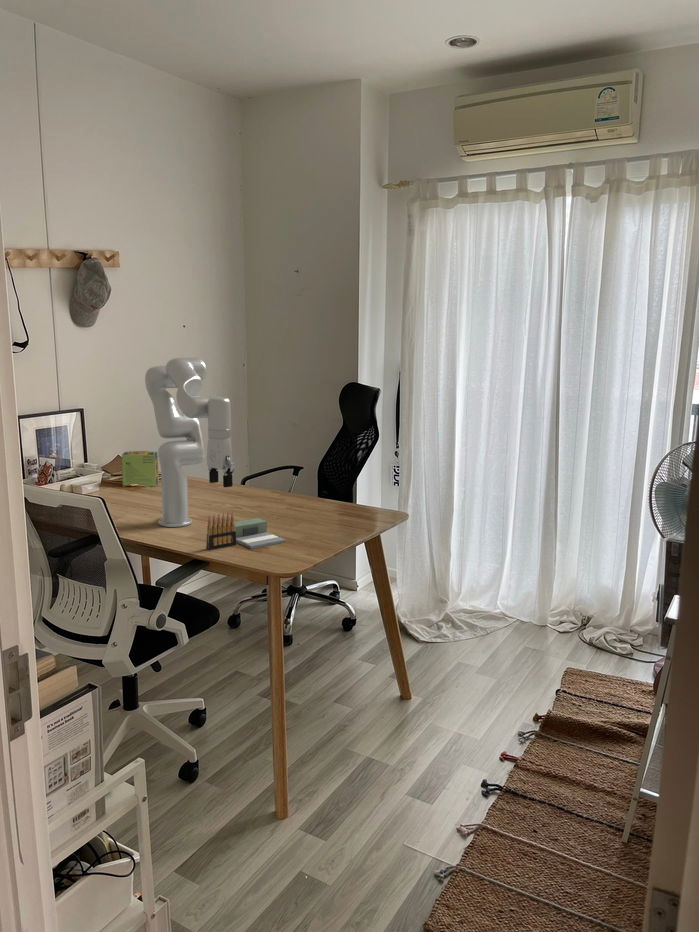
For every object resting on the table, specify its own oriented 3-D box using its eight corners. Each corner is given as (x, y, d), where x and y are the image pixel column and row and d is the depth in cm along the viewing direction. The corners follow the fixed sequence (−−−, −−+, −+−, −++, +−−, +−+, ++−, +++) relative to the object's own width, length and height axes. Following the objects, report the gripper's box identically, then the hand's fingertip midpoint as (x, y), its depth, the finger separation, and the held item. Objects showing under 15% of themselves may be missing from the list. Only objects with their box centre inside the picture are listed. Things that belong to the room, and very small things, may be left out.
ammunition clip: (233, 543, 257) (233, 510, 255) (236, 545, 256) (236, 511, 254) (206, 548, 251) (205, 514, 248) (208, 550, 249) (208, 515, 247)
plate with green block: (224, 536, 265) (224, 523, 264) (257, 530, 274) (257, 517, 273) (251, 549, 252) (251, 534, 251) (285, 542, 260) (285, 528, 259)
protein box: (156, 487, 344) (155, 454, 341) (122, 487, 342) (121, 454, 339) (159, 482, 354) (158, 450, 351) (126, 482, 352) (125, 450, 349)
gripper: (197, 432, 251) (199, 482, 254) (222, 437, 238) (223, 490, 240) (217, 431, 256) (218, 479, 258) (242, 436, 242) (243, 487, 245)
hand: (220, 484), depth 249 cm, fingers open, 9 cm apart
